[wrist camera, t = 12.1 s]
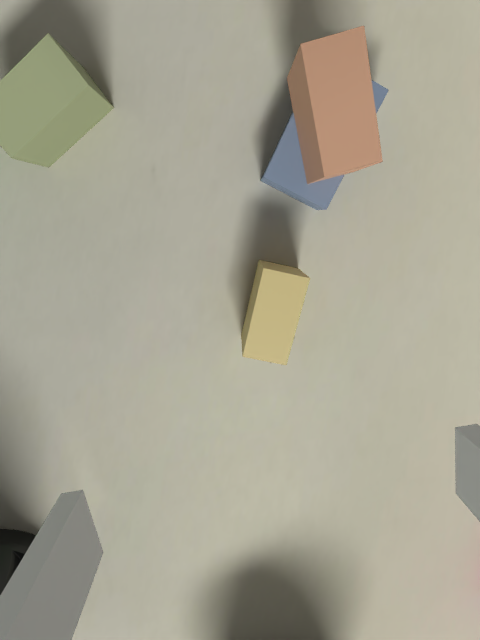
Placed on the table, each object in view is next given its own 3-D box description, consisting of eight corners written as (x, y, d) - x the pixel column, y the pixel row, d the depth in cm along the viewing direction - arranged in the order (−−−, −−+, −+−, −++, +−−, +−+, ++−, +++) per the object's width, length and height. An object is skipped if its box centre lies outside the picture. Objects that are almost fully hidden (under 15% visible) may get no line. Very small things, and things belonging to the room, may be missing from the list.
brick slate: (316, 210, 35) (326, 209, 31) (260, 180, 34) (263, 176, 31) (370, 104, 33) (388, 89, 29) (311, 70, 32) (322, 51, 28)
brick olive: (49, 167, 34) (11, 158, 28) (16, 129, 33) (-30, 110, 27) (114, 108, 32) (88, 85, 27) (82, 66, 31) (48, 32, 26)
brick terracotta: (354, 171, 31) (382, 161, 25) (307, 184, 31) (324, 177, 25) (337, 64, 28) (364, 25, 23) (286, 78, 29) (300, 43, 23)
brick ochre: (278, 342, 39) (286, 365, 33) (241, 335, 38) (242, 356, 33) (298, 268, 36) (310, 278, 31) (258, 259, 36) (263, 268, 30)
